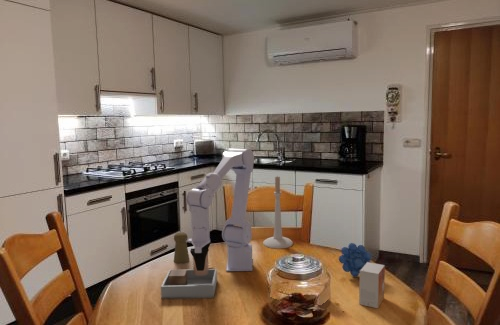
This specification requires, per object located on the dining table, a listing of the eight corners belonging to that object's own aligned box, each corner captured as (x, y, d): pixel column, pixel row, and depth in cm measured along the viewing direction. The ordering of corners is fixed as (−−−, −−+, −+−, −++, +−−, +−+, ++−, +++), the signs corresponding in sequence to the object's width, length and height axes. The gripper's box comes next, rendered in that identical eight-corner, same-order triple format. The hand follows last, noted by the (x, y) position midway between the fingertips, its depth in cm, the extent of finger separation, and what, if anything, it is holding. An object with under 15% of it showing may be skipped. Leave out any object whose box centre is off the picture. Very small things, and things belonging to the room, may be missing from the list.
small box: (377, 309, 113) (378, 274, 111) (358, 304, 116) (359, 270, 114) (384, 298, 119) (385, 264, 118) (366, 293, 122) (366, 261, 121)
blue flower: (342, 282, 131) (342, 247, 129) (336, 274, 137) (337, 241, 136) (376, 281, 131) (377, 246, 130) (369, 273, 138) (370, 240, 136)
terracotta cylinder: (209, 270, 129) (208, 249, 128) (207, 275, 125) (206, 254, 124) (195, 270, 129) (194, 249, 129) (192, 276, 125) (191, 254, 124)
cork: (191, 257, 156) (190, 230, 154) (187, 263, 150) (186, 235, 148) (176, 257, 156) (175, 230, 155) (171, 263, 150) (170, 235, 149)
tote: (217, 280, 134) (216, 268, 134) (213, 297, 121) (213, 285, 121) (169, 280, 134) (169, 269, 134) (161, 298, 121) (160, 286, 121)
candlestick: (278, 237, 180) (277, 172, 176) (298, 243, 170) (298, 175, 167) (257, 243, 172) (256, 175, 168) (277, 250, 162) (277, 179, 158)
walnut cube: (187, 284, 130) (186, 269, 129) (185, 290, 125) (184, 275, 125) (172, 284, 130) (171, 269, 129) (169, 291, 125) (168, 276, 125)
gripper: (190, 220, 132) (192, 258, 134) (184, 233, 118) (185, 276, 120) (211, 219, 132) (212, 258, 134) (207, 232, 118) (208, 275, 120)
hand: (201, 266), depth 127 cm, fingers closed on terracotta cylinder, 5 cm apart
